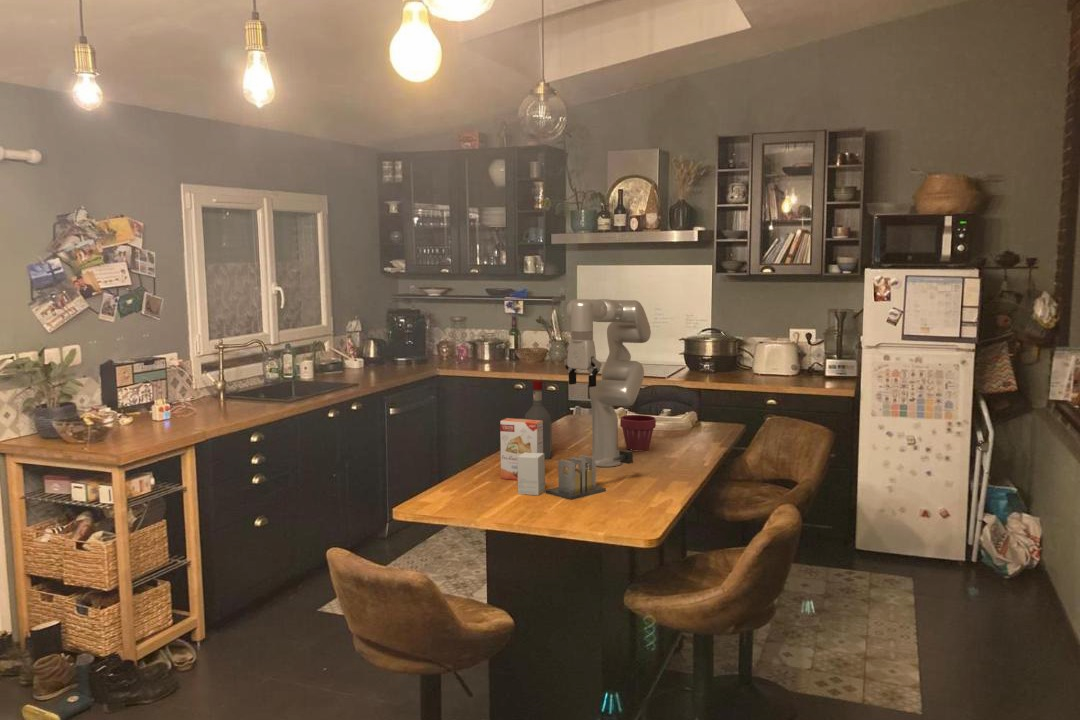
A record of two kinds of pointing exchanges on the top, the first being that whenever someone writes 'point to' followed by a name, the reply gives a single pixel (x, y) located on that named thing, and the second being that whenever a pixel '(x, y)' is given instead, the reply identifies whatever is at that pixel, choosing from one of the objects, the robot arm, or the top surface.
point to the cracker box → (518, 443)
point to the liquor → (541, 418)
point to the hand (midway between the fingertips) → (582, 385)
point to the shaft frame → (568, 480)
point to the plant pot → (637, 431)
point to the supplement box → (531, 473)
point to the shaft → (615, 458)
